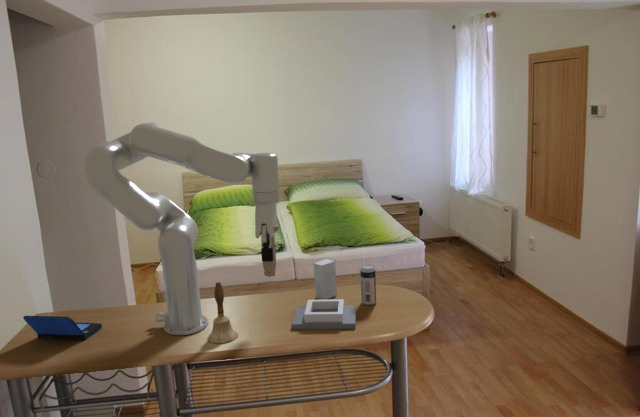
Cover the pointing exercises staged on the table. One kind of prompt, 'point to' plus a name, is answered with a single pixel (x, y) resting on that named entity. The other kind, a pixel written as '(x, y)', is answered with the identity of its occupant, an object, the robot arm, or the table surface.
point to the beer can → (368, 285)
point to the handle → (271, 265)
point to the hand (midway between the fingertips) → (269, 258)
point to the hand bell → (221, 321)
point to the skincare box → (325, 279)
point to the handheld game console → (61, 327)
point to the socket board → (325, 315)
